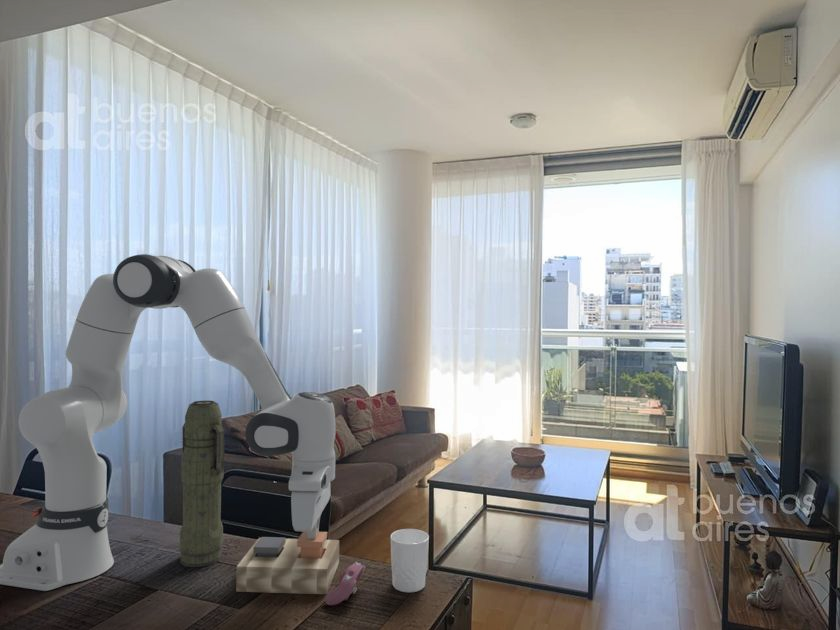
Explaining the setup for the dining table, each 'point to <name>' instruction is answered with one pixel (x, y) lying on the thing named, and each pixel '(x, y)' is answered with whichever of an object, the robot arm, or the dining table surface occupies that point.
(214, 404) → the thermos
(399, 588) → the white cup
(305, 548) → the terracotta plug
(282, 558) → the socket block
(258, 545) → the charcoal plug
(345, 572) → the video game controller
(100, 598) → the dining table surface
